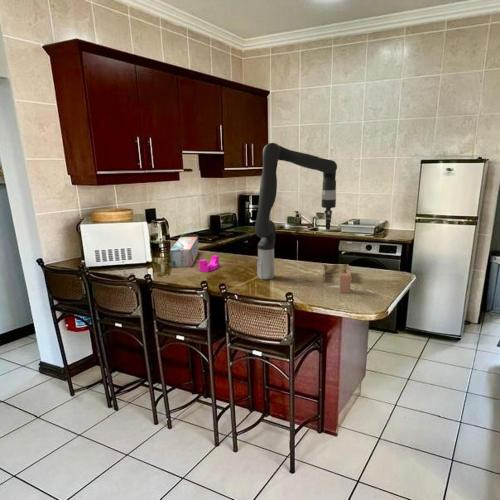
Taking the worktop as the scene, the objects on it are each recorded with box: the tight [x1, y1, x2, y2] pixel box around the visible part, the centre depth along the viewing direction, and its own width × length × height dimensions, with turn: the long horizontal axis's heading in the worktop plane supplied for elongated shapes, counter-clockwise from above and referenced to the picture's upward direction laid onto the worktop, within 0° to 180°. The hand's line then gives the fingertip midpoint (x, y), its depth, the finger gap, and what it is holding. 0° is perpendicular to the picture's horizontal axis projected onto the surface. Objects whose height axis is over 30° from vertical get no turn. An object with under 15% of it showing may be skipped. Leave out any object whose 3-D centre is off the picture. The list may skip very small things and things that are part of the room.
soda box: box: [169, 236, 200, 268], centre depth 267 cm, size 41×14×13 cm, turn 1°
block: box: [338, 273, 352, 294], centre depth 192 cm, size 5×5×9 cm
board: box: [328, 284, 355, 290], centre depth 194 cm, size 14×20×1 cm
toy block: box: [198, 254, 220, 273], centre depth 242 cm, size 15×6×8 cm, turn 147°
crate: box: [321, 263, 353, 283], centre depth 218 cm, size 15×20×5 cm
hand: (327, 228), depth 207 cm, fingers open, 8 cm apart
